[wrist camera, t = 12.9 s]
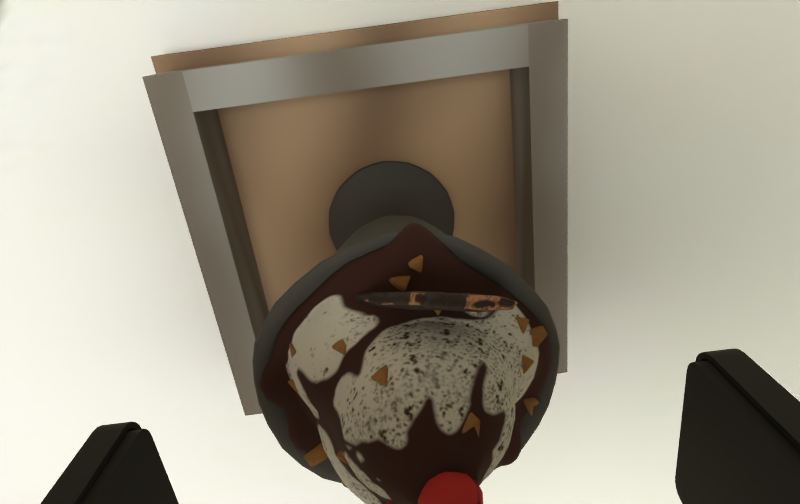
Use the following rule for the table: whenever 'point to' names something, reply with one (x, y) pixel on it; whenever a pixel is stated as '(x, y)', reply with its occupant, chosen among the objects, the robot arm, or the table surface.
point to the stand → (367, 149)
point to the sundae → (405, 350)
